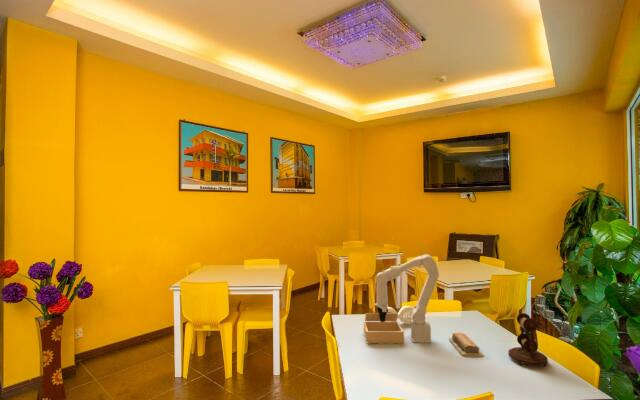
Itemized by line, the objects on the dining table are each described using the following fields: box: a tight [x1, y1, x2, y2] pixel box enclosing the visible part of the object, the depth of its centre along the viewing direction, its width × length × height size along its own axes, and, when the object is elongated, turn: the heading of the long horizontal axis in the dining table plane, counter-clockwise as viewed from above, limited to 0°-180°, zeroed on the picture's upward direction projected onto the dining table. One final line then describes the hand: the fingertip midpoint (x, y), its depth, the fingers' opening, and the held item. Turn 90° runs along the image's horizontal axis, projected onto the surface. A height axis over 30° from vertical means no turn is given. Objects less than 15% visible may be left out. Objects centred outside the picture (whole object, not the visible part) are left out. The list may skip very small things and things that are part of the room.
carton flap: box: [364, 312, 399, 322], centre depth 178 cm, size 17×7×1 cm
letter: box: [385, 305, 414, 325], centre depth 192 cm, size 22×2×10 cm, turn 99°
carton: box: [363, 321, 405, 345], centre depth 173 cm, size 19×14×6 cm
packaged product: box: [448, 332, 485, 358], centre depth 160 cm, size 18×5×10 cm
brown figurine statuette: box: [508, 312, 549, 367], centre depth 146 cm, size 15×15×20 cm
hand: (382, 321), depth 174 cm, fingers closed
